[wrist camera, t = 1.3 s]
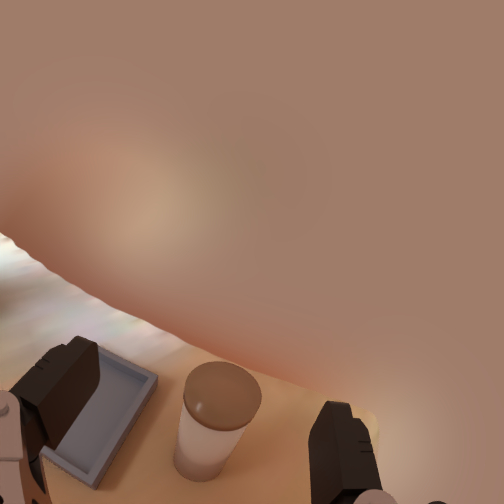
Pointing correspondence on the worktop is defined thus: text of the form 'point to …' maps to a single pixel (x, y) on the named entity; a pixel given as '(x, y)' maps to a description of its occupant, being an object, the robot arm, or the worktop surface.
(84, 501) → the worktop surface
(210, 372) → the canister
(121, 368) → the dish
